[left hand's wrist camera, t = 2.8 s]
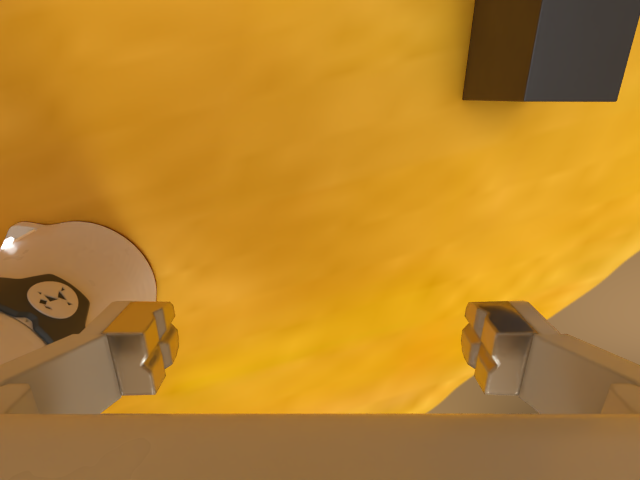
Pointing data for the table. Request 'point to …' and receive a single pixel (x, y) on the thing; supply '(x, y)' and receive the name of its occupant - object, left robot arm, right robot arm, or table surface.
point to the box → (549, 49)
